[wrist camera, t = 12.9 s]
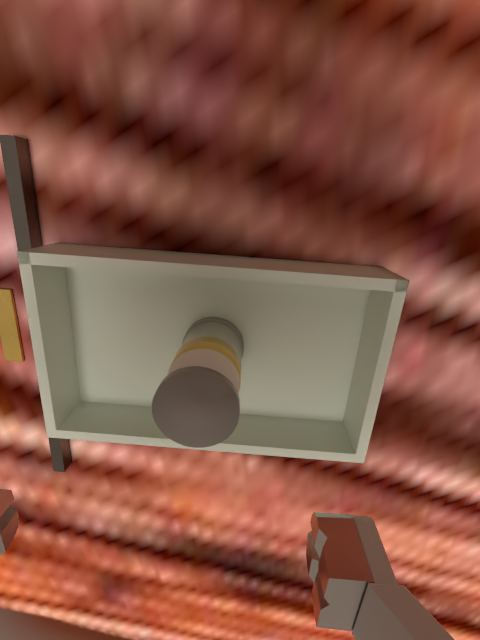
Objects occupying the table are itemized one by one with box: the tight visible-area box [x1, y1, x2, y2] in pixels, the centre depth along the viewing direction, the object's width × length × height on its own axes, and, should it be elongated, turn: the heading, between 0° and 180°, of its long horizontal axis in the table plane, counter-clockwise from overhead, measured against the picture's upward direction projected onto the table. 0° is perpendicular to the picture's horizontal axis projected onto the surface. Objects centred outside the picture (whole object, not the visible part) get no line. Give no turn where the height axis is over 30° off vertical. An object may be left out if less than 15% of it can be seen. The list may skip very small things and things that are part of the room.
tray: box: [17, 243, 409, 463], centre depth 20 cm, size 11×19×4 cm, turn 86°
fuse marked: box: [152, 317, 244, 448], centre depth 17 cm, size 4×4×7 cm
